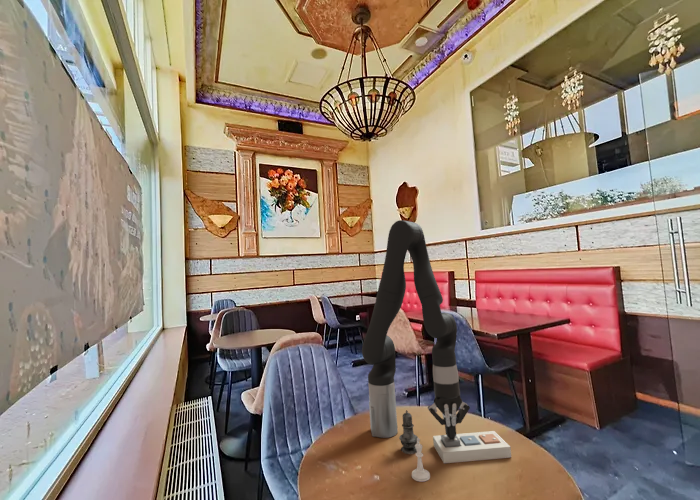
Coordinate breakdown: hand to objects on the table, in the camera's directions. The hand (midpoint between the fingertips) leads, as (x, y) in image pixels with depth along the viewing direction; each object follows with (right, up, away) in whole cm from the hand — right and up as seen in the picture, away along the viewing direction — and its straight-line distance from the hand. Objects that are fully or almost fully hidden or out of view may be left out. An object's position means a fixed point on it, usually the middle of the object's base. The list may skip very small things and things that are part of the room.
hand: (451, 437), depth 101 cm
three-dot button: (0, -3, 0) cm, 3 cm away
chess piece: (-12, -5, -11) cm, 16 cm away
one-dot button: (+6, -3, 0) cm, 7 cm away
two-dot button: (+12, -3, 0) cm, 12 cm away
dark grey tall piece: (-12, -6, +3) cm, 14 cm away
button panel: (+6, -4, 0) cm, 7 cm away
